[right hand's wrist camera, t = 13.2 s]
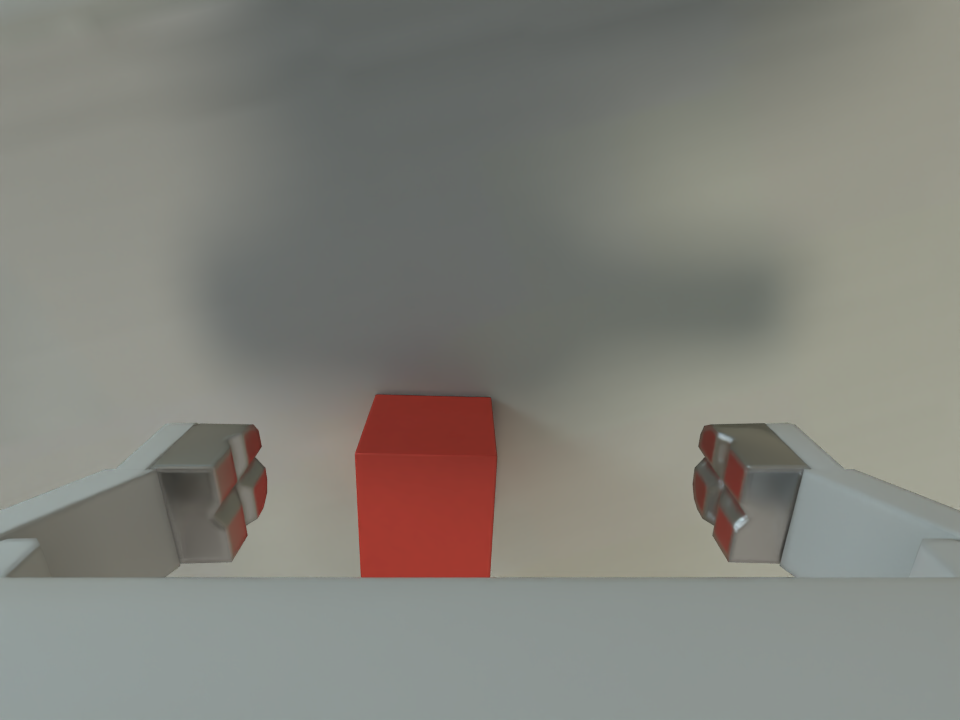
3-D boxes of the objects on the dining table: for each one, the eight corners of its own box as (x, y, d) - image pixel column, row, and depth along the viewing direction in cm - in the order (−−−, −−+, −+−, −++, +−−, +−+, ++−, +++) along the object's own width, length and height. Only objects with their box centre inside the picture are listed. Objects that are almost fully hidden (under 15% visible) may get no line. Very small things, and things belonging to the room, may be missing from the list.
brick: (485, 508, 23) (489, 584, 19) (379, 506, 23) (360, 583, 19) (491, 396, 21) (497, 456, 17) (375, 393, 21) (354, 453, 17)
